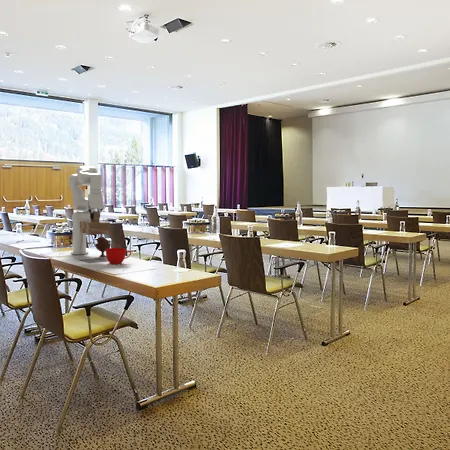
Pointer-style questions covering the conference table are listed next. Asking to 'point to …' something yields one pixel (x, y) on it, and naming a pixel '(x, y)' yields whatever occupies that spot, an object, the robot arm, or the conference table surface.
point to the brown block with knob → (95, 226)
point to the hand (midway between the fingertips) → (95, 218)
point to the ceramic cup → (116, 255)
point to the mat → (94, 260)
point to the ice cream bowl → (102, 245)
